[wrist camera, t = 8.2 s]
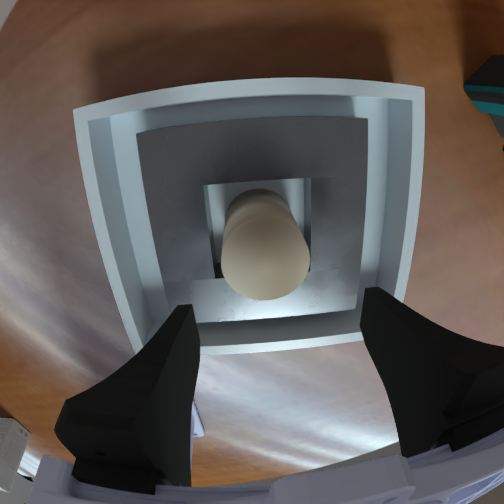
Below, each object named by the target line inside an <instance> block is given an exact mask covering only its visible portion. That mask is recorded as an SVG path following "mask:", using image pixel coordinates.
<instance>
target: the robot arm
mask: <svg viewBox="0 0 504 504" xmlns="http://www.w3.org/2000/svg"><path fill="white" fill-rule="evenodd" d="M359 326H360V329H361V332H362V336H363V339H364V342H365V345H366V347H367V349H368V351H369V354H370V356H371V358H372V360H373V362H374V364H375V366H376V369H377V371H378V373H379V375H380V377H381V379H382V381H383V384H384V386H385V389H386V391H387V395H388V398H389V401H390V404H391V408H392V412H393V415H394V419H395V423H396V427H397V432H398V437H399V442H400V447H401V454H402V456H399V455H389V456H383V457H378V458H374V459H370V460H366V461H362V462H358V463H353V464H349V465H344V466H339V467H333V468H328V469H322V470H316V471H309V472H303V473H299V474H294V475H289V476H286V477H284V478H282V479H280V480H277V481H276V482H275V483H273V485H266V486H252V487H222V488H221V487H216V488H215V487H191V463H192V451H193V440H194V437H202V436H204V435H205V431H204V429H203V426H202V423H201V420H200V417H199V415H198V412H197V409H196V406H195V403H194V400H193V398H194V392H195V386H196V381H197V375H198V369H199V363H200V342H201V341H200V337H199V332H198V328H197V324H196V319H195V314H194V310H193V305H192V304H183V305H177V306H176V308H175V309H174V310H173V311H172V313H171V314H170V315H169V317H168V318H167V319H166V321H165V322H164V323H163V325H162V326H161V327H160V328H159V329H158V331H157V332H156V333H155V334H154V336H153V337H152V338H151V339H150V340H149V341H148V342H147V343H146V345H145V346H144V347H143V348H142V349H141V350H140V351H139V352H138V353H137V354H136V355H135V356H134V357H133V358H131V359H130V360H129V361H128V362H127V363H126V364H125V365H123V366H122V367H121V368H119V369H118V370H117V371H115V372H114V373H113V374H111V375H110V376H109V377H107V378H106V379H104V380H103V381H101V382H100V383H98V384H96V385H95V386H93V387H91V388H89V389H88V390H86V391H84V392H82V393H80V394H78V395H75V396H73V397H71V398H69V399H67V400H66V401H65V403H64V405H63V407H62V410H61V412H60V415H59V417H58V420H57V422H56V425H55V428H54V431H55V434H56V436H57V437H58V439H59V440H60V441H61V442H62V444H63V445H64V446H65V447H66V448H67V449H68V450H69V451H70V452H71V453H72V454H73V455H74V456H75V457H76V461H75V464H74V465H73V464H72V463H70V462H68V461H65V460H61V459H57V458H53V457H50V456H46V455H43V456H42V459H41V462H40V465H39V467H38V470H37V473H36V476H35V479H34V482H33V486H32V489H31V492H30V495H29V499H28V502H27V504H467V503H469V502H471V501H473V500H474V499H476V498H478V497H480V496H481V495H483V494H485V493H486V492H488V491H490V490H491V489H493V488H495V487H496V486H498V485H499V484H501V483H502V482H504V347H502V346H496V345H491V344H487V343H483V342H480V341H476V340H473V339H470V338H467V337H465V336H462V335H459V334H457V333H454V332H452V331H450V330H448V329H446V328H444V327H442V326H440V325H438V324H436V323H434V322H432V321H430V320H429V319H427V318H425V317H424V316H422V315H420V314H419V313H417V312H415V311H414V310H412V309H411V308H409V307H408V306H406V305H405V304H403V303H402V302H401V301H399V300H398V299H396V298H395V297H393V296H392V295H390V294H389V293H388V292H386V291H385V290H383V289H381V288H380V287H378V286H377V287H369V288H365V291H364V299H363V306H362V312H361V319H360V325H359Z"/></svg>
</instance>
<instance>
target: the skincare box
mask: <svg viewBox="0 0 504 504" xmlns="http://www.w3.org/2000/svg"><path fill="white" fill-rule="evenodd" d="M30 436H31V434H30V433H29V432H28V431H27V430H26V429H25V428H24V427H23V426H22V425H21V424H20V423H19V422H17V421H16V420H15V419H13V418H0V490H2V491H5V492H7V493H10V491H11V488H12V485H13V482H14V479H15V476H16V473H17V470H18V467H19V465H20V462H21V459H22V456H23V454H24V451H25V449H26V446H27V443H28V441H29V438H30Z"/></svg>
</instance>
